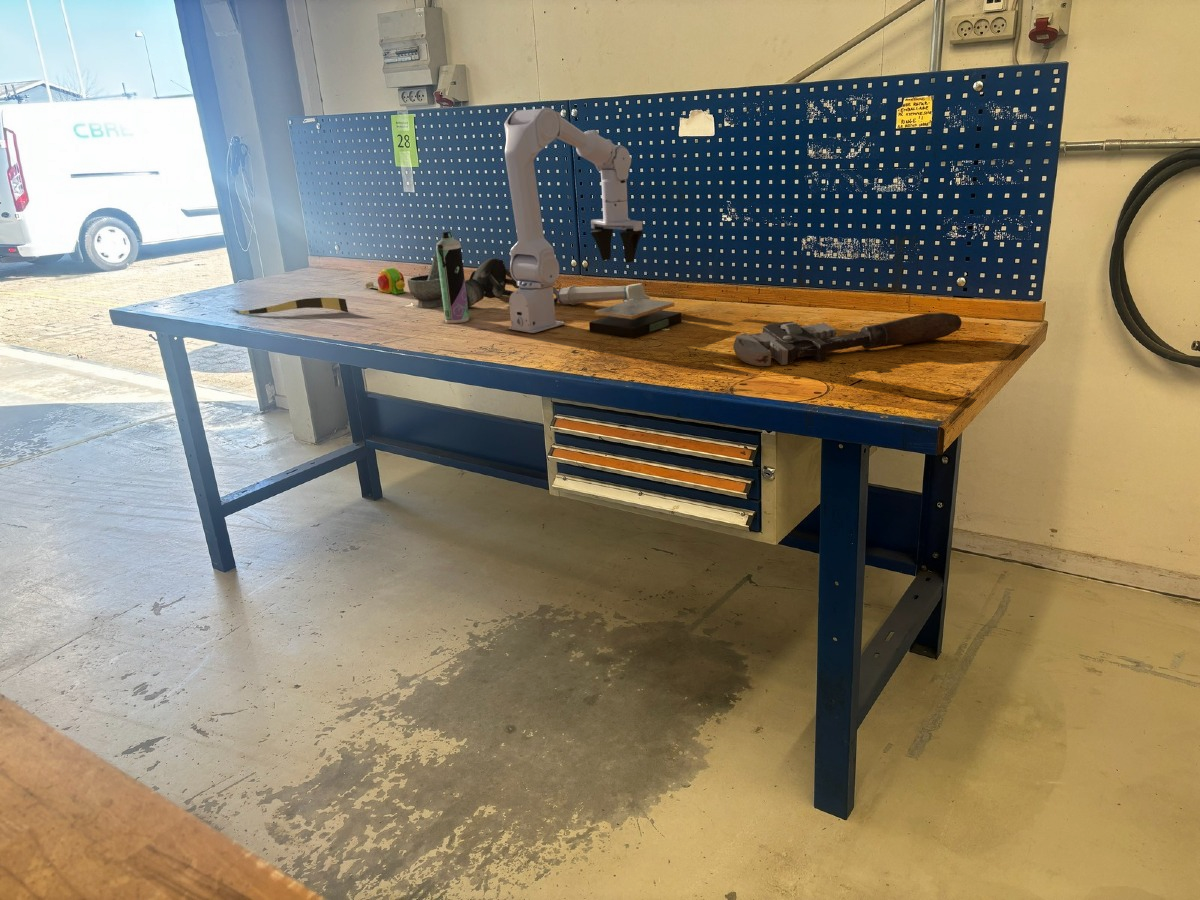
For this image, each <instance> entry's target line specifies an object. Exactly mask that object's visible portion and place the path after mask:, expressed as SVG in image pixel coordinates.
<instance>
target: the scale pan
mask: <svg viewBox="0 0 1200 900" xmlns="http://www.w3.org/2000/svg"><path fill="white" fill-rule="evenodd" d="M672 307H675V302H673V301H666V300H658V299H641V298H637V299H634V300H630V301H627V302H623V301H622V302H621V303H616V304H614V305H610V306H607V307H603V308H600V309H596V310H594V315H596V316H602V317H603V316H604V317H608V316H611V317H618V318H625V319H635V318H638V317H641V316H644V315H648V314H651V313H654V312H657V311H660V310H666V309H669V308H672Z"/></svg>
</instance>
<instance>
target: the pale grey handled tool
mask: <svg viewBox="0 0 1200 900" xmlns="http://www.w3.org/2000/svg"><path fill="white" fill-rule="evenodd" d="M557 297H558V301H557V302H558V303H559V304H561V305H571V306H575V305H578V304H585V303H597V302H607V301H608V302H609V301H620V300H622V303H623V302H627V301H630V300H634V299H637V298H641V299H649V300H651V299H650V295H646V291H645V287H644V285H643V283H632V284H628V285H612V286H611V285H610V286H609V285H608V286H607V285H606V286H576V285H570V286H568V287H561V288H559V289H558V293H557Z"/></svg>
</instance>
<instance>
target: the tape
mask: <svg viewBox="0 0 1200 900" xmlns="http://www.w3.org/2000/svg"><path fill="white" fill-rule="evenodd" d="M296 309H297V310H298V309H326V310H327V309H328V310H336V311H340V312H345V313H349V309H348V305H347V299H346V298H339V297H310V298H301V299H297V300H291V301H287V302H283V303H279V304H275V305H272V306H265V307H261V308H255V309H248V310H235V309H232V311H233V312H236V313H237V314H243V315H244V314H245V315H257V314H258V315H259V314H269V313H277V312H278V313H279V312H284V311H290V310H296Z"/></svg>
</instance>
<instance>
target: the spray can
mask: <svg viewBox="0 0 1200 900" xmlns="http://www.w3.org/2000/svg"><path fill="white" fill-rule="evenodd" d="M435 245H436V247H435V251H436V254H437V259H438V267H439V275H440V283H441V291H442V301H443V305H442V308H443V313H444V321H445V323H447V324H462V323H466V322H469V321H470V313H469V308H468V303H467V295H466V286H465V281H466V279H465V270H464V269H465V268H464V261H463V252H462V245H461V241H459V240H457V239H455V237H454V236H453V235H452V233H451V231H445V232H442V236H441V238H440V240H439V241H438V242H437V243H436V244H435Z"/></svg>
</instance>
